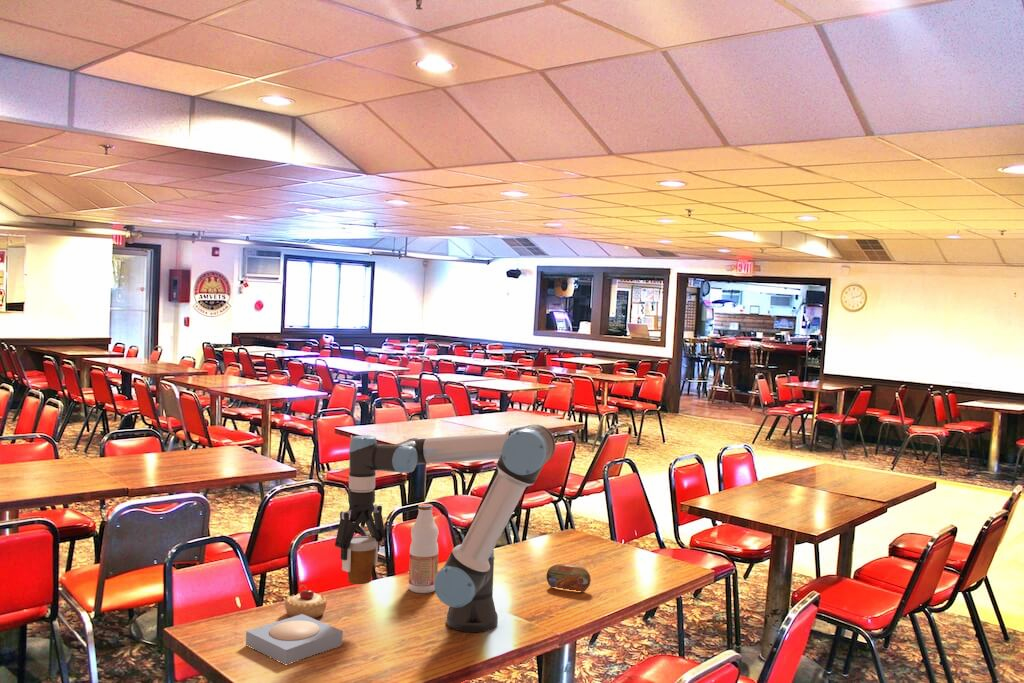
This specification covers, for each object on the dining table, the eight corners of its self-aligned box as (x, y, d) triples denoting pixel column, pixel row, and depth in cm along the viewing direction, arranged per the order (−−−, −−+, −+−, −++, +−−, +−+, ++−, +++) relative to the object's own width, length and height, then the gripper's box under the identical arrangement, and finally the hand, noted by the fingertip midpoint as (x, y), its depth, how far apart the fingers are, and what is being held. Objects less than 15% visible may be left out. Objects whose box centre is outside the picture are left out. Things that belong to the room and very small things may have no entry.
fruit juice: (418, 595, 260) (421, 509, 259) (403, 587, 267) (405, 504, 266) (442, 590, 266) (445, 506, 265) (426, 582, 273) (429, 500, 272)
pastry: (304, 626, 232) (305, 596, 231) (276, 616, 238) (276, 587, 237) (334, 613, 242) (335, 584, 241) (306, 604, 248) (307, 576, 248)
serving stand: (342, 645, 218) (342, 629, 218) (285, 665, 204) (286, 648, 204) (301, 627, 229) (302, 612, 229) (245, 645, 215) (246, 629, 215)
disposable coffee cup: (369, 587, 226) (370, 545, 226) (337, 584, 228) (338, 542, 228) (381, 577, 236) (382, 537, 235) (350, 574, 237) (351, 534, 237)
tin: (545, 588, 272) (546, 563, 272) (548, 585, 275) (549, 561, 275) (588, 595, 266) (589, 570, 266) (591, 592, 269) (592, 567, 269)
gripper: (382, 482, 242) (380, 556, 243) (322, 493, 225) (320, 572, 226) (399, 486, 238) (397, 561, 238) (339, 497, 220) (337, 578, 221)
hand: (360, 567), depth 232 cm, fingers closed on disposable coffee cup, 9 cm apart
